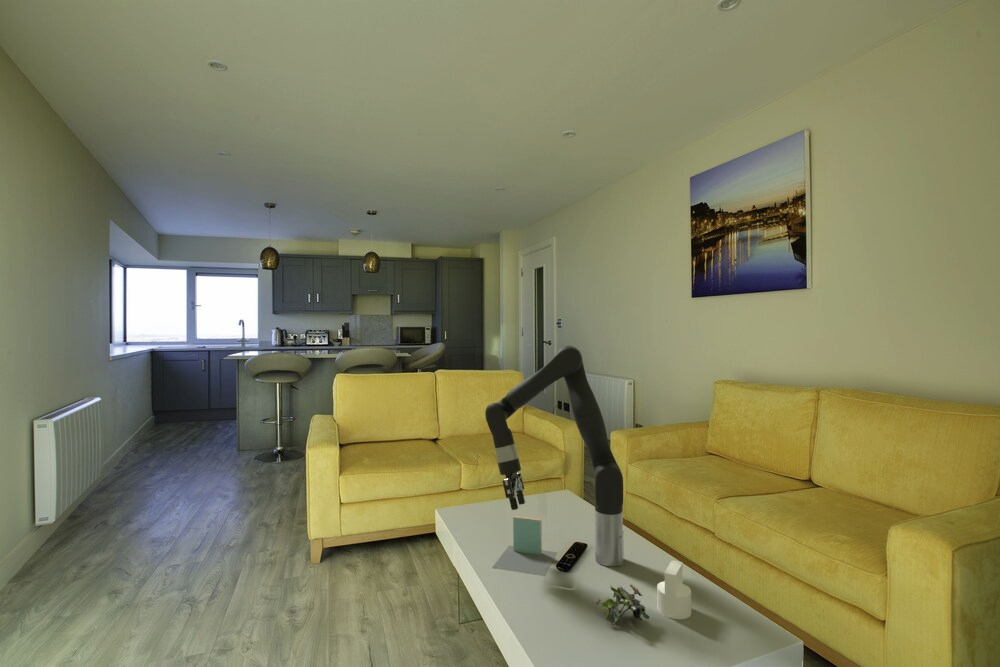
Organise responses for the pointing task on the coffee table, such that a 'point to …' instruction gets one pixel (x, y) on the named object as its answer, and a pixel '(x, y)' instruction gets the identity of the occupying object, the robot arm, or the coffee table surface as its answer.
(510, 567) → the mat
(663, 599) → the cylinder with rectangular tab
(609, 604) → the passion flower
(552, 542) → the coffee table surface
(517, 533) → the tile
